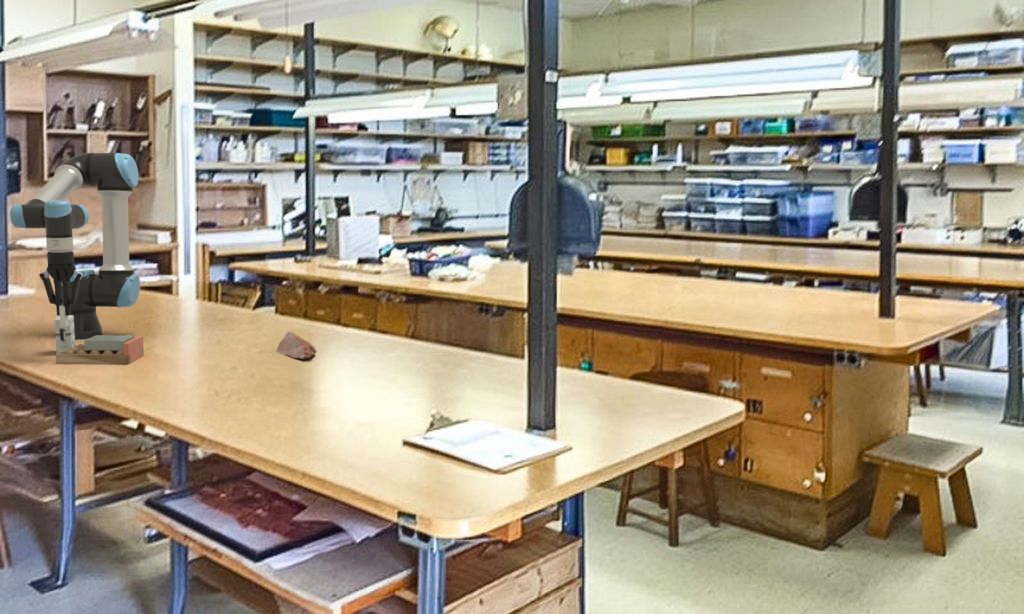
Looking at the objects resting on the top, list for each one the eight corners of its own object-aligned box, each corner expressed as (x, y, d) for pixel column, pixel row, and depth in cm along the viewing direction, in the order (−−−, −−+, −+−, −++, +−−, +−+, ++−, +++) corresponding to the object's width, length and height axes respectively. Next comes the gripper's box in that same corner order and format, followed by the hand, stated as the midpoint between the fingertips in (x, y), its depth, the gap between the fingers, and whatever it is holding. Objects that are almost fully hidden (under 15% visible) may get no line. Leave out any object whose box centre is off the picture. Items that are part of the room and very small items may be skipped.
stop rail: (138, 355, 320) (137, 335, 320) (143, 355, 321) (143, 336, 320) (123, 364, 306) (123, 343, 306) (129, 364, 307) (128, 343, 306)
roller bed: (73, 355, 319) (73, 343, 319) (143, 355, 321) (143, 343, 320) (56, 363, 305) (55, 351, 305) (129, 364, 307) (128, 351, 306)
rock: (293, 359, 313) (314, 335, 316) (270, 348, 333) (290, 326, 336) (315, 379, 317) (336, 356, 320) (291, 367, 338) (311, 345, 341)
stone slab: (96, 344, 317) (96, 335, 317) (134, 344, 318) (134, 335, 317) (84, 350, 307) (84, 340, 307) (124, 350, 308) (123, 341, 307)
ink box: (59, 350, 326) (57, 315, 325) (75, 350, 328) (74, 314, 326) (55, 355, 318) (54, 319, 317) (72, 355, 320) (71, 318, 318)
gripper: (33, 252, 304) (38, 328, 308) (77, 252, 304) (81, 328, 308) (43, 249, 311) (48, 323, 315) (86, 249, 312) (90, 323, 316)
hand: (64, 325), depth 312 cm, fingers closed
